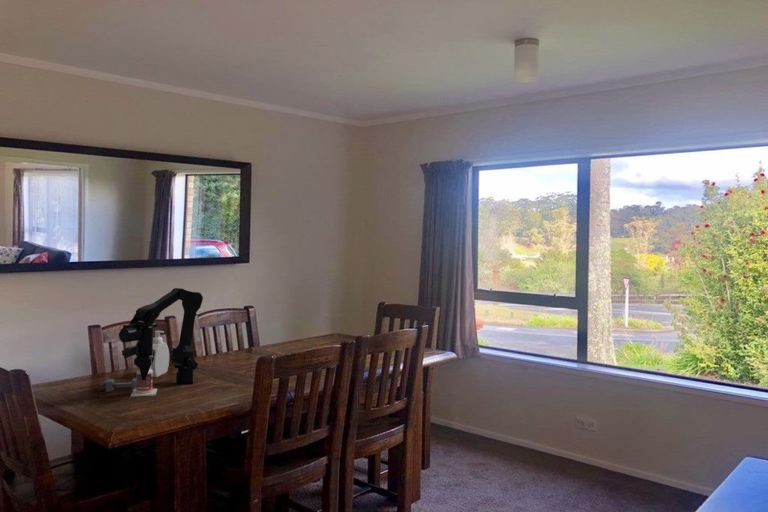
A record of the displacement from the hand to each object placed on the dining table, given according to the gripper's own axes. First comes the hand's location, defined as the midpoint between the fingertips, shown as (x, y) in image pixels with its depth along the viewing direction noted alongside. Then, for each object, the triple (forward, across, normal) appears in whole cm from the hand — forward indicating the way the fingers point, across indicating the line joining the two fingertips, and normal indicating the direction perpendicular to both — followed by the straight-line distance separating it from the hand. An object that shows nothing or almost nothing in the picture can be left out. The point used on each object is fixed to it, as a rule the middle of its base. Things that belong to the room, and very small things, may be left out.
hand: (144, 377), depth 240 cm
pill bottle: (+6, 0, 0) cm, 6 cm away
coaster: (+6, 0, 0) cm, 6 cm away
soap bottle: (+6, -34, +2) cm, 34 cm away
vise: (+6, -9, -10) cm, 15 cm away
